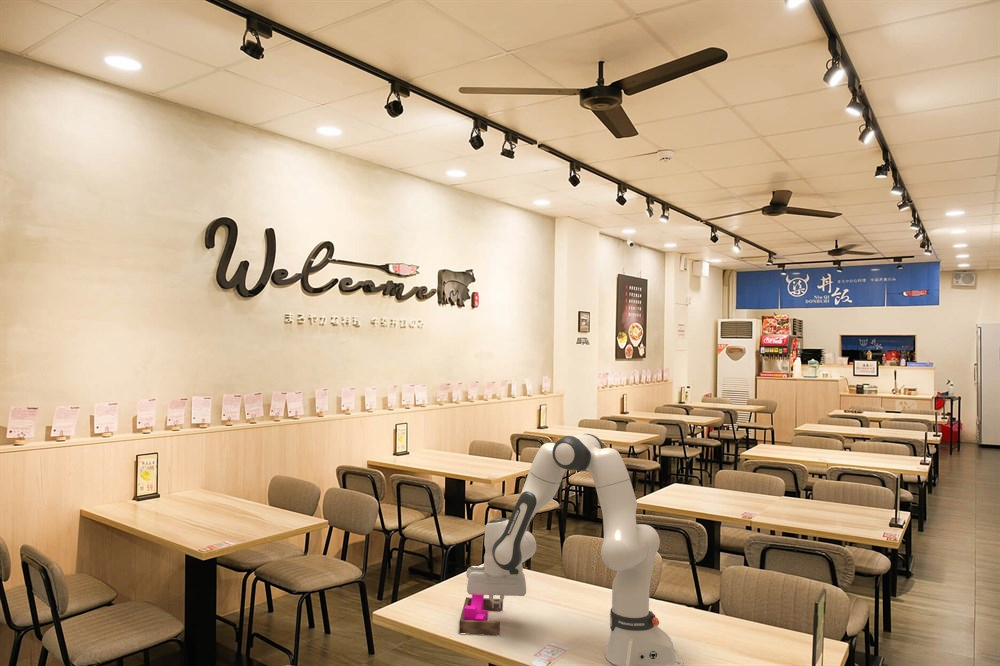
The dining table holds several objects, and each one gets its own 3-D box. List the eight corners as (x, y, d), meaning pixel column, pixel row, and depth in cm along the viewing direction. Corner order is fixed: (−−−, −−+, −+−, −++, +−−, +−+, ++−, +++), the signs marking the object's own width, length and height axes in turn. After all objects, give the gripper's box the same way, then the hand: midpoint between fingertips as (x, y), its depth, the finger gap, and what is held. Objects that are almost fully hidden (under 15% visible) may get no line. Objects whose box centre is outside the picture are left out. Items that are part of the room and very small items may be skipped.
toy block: (482, 633, 218) (482, 609, 218) (463, 631, 219) (464, 608, 219) (490, 615, 233) (490, 593, 233) (472, 613, 234) (473, 592, 234)
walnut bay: (502, 610, 237) (502, 598, 237) (499, 635, 216) (499, 623, 216) (465, 608, 238) (466, 597, 238) (459, 633, 217) (459, 621, 217)
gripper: (465, 568, 224) (465, 610, 224) (526, 570, 223) (526, 612, 223) (467, 562, 231) (466, 603, 230) (526, 564, 230) (526, 605, 229)
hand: (496, 607), depth 227 cm, fingers closed
